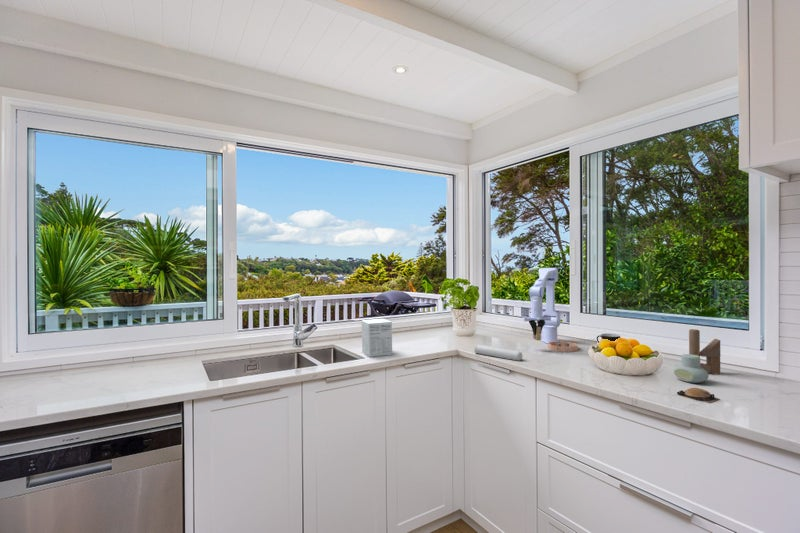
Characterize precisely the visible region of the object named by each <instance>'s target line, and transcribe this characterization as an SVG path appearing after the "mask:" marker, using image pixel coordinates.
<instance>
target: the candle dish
mask: <svg viewBox="0 0 800 533" xmlns="http://www.w3.org/2000/svg"><path fill="white" fill-rule="evenodd" d="M547 349H548V350H550V351H555V352H564V353H569V352H571V353H574V352H578V350H579V344H578V343H576V342H570V341H563V340H562V341H561V340H557V341H552V342H548V343H547Z"/></svg>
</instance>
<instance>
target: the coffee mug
mask: <svg viewBox="0 0 800 533" xmlns="http://www.w3.org/2000/svg"><path fill="white" fill-rule="evenodd" d="M599 337H601V340H602V339H608V340H610V341H615V340H616V339H618V338H620V339H621V334H616V333H601V334H600V335H597V336H596V341H597V342H598V344H599V342H600V341H599Z"/></svg>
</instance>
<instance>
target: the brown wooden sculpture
mask: <svg viewBox="0 0 800 533" xmlns="http://www.w3.org/2000/svg"><path fill="white" fill-rule="evenodd" d="M700 335H701V334H700V330H699V329H697V328H696V329H693V328H691V329H690V328H689V331H688V340H689V342H688V354H692V355H697V356H699V357H700V358H701V357H703V358H704V357H705V358H706V361H705V362H706V363H704V362H703V363H702V362H700V367H701V368H703V369H705V370H706V371H707V372H708V375H709V374H711V375H721V340H720V339H717V338H714V339H712V341H710V342H709V343H708V344H707V345H705V347H703V348H702V349H700V346H701V343H700V342H701V341H700V339H701V336H700Z"/></svg>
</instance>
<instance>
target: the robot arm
mask: <svg viewBox="0 0 800 533" xmlns="http://www.w3.org/2000/svg"><path fill="white" fill-rule="evenodd" d="M538 277H539V278H538V279H537V278H536V280H535V282H534V283H533V285H532V286H531V287H529V291H528V292H529V294H528V295H529V300H530V316H522V322H529V325H530V328H531V329H532V334H534V335H536V325H537V326H540V327H541V340H540V341H541V342H543V343H545V344H548V342H552V341H558V328H559V327H560V326H561V315H560V313H559V312H558V311H556V310H555V304H556V303H555V301H556V300H555V299H556V298H555V297H556V296H555V295H556V294H555V293H556V292H555V286H556V283H557V282H559V270H558V268H557V267H540V268H539V269H538ZM544 294H545V295H544ZM544 296H545V310H544V311H543V297H544Z"/></svg>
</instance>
